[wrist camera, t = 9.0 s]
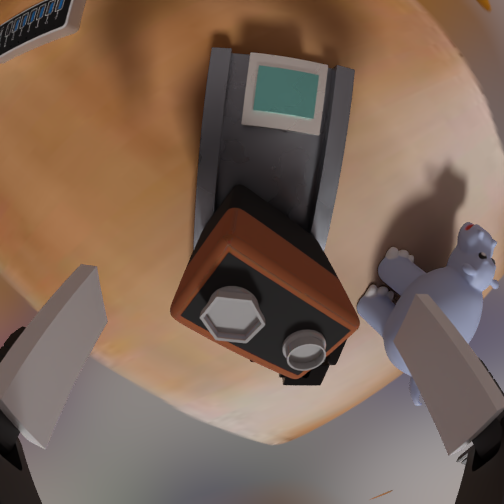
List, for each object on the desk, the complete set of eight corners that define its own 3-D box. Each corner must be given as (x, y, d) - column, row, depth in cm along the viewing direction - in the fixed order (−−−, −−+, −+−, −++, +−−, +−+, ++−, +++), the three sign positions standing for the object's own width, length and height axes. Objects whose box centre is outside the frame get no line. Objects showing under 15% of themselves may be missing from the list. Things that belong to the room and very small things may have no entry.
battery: (238, 179, 17) (223, 242, 8) (320, 239, 19) (374, 340, 10) (199, 232, 18) (157, 333, 9) (280, 285, 20) (299, 400, 11)
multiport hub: (80, 33, 14) (65, 27, 12) (3, 64, 13) (-12, 63, 11) (90, -7, 12) (77, -15, 10) (11, 29, 12) (-3, 26, 10)
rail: (216, 57, 16) (203, 31, 10) (342, 76, 16) (375, 60, 11) (197, 304, 24) (185, 351, 19) (298, 313, 25) (309, 361, 19)
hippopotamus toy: (481, 231, 21) (541, 274, 13) (413, 344, 27) (447, 405, 19) (415, 187, 20) (492, 227, 11) (339, 329, 26) (368, 407, 17)
